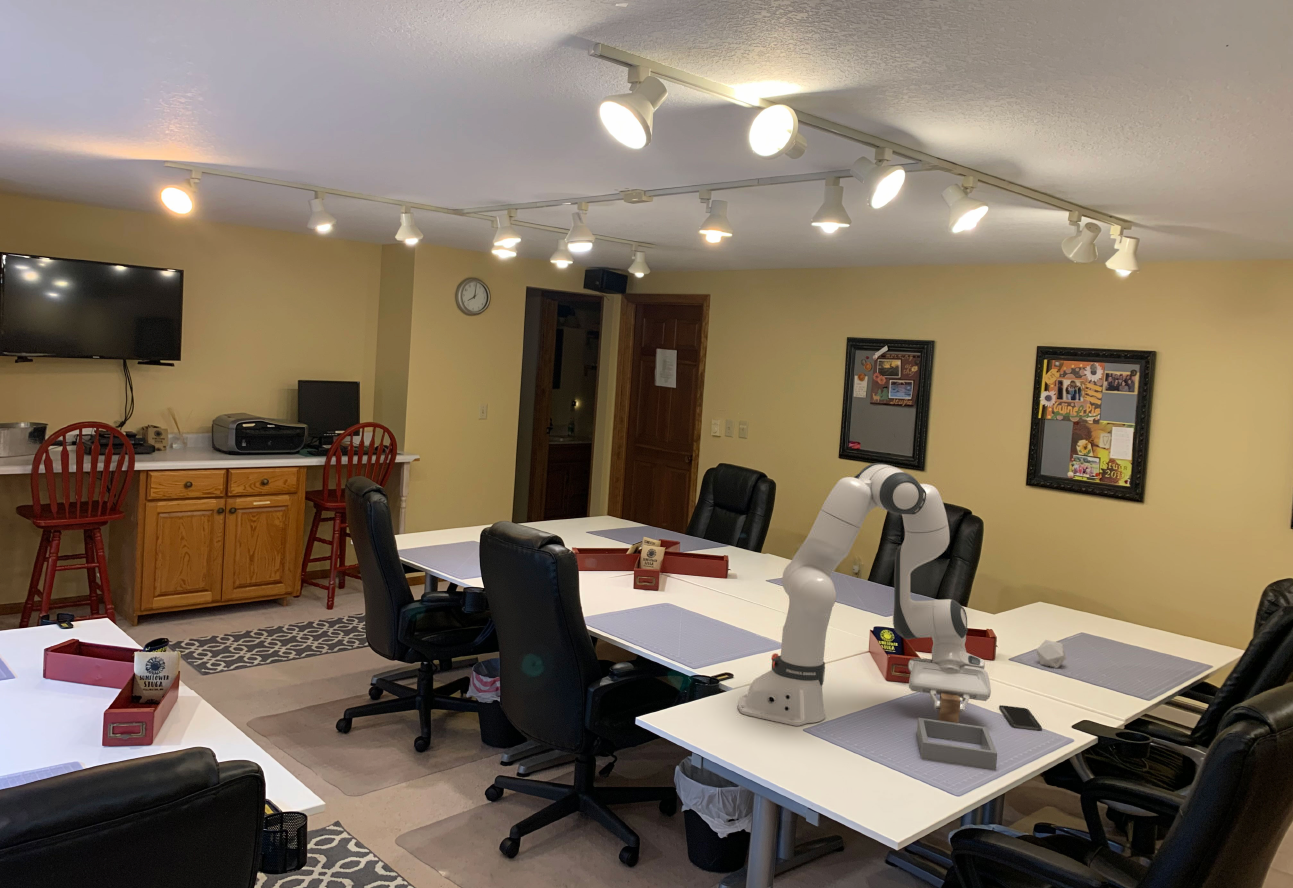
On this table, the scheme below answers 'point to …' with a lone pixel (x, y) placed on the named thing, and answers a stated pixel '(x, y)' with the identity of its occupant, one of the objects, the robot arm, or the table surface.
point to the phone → (1020, 718)
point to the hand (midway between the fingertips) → (949, 710)
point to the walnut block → (949, 708)
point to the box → (953, 752)
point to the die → (1051, 654)
